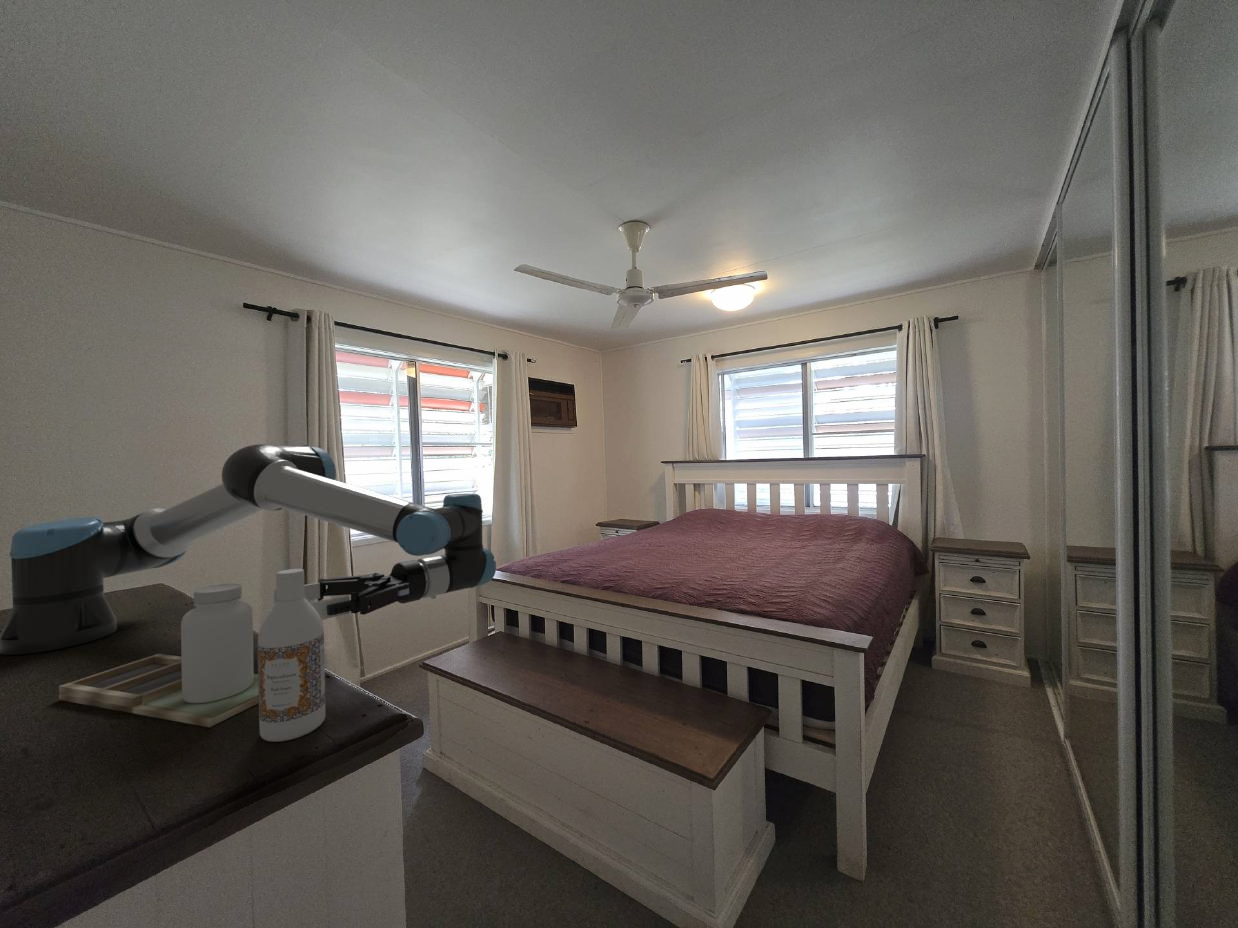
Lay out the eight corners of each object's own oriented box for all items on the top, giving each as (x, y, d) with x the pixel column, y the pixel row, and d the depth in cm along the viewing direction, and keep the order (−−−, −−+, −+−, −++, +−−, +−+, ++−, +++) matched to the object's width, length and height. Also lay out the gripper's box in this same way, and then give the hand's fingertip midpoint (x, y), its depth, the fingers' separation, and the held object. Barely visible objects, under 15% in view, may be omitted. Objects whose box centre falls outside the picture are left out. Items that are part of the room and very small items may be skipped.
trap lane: (59, 699, 69) (59, 685, 69) (158, 665, 81) (158, 653, 81) (209, 727, 61) (209, 711, 61) (295, 684, 73) (295, 671, 73)
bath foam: (247, 747, 57) (244, 579, 56) (275, 717, 63) (272, 567, 63) (313, 739, 58) (309, 575, 58) (333, 710, 65) (330, 563, 65)
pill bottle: (266, 684, 71) (263, 583, 71) (200, 710, 64) (197, 597, 63) (236, 675, 74) (233, 578, 74) (170, 698, 67) (167, 592, 67)
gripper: (453, 611, 83) (313, 649, 67) (390, 588, 99) (266, 614, 83) (452, 568, 83) (312, 595, 67) (389, 552, 99) (265, 571, 83)
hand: (286, 606), depth 75 cm, fingers open, 13 cm apart
